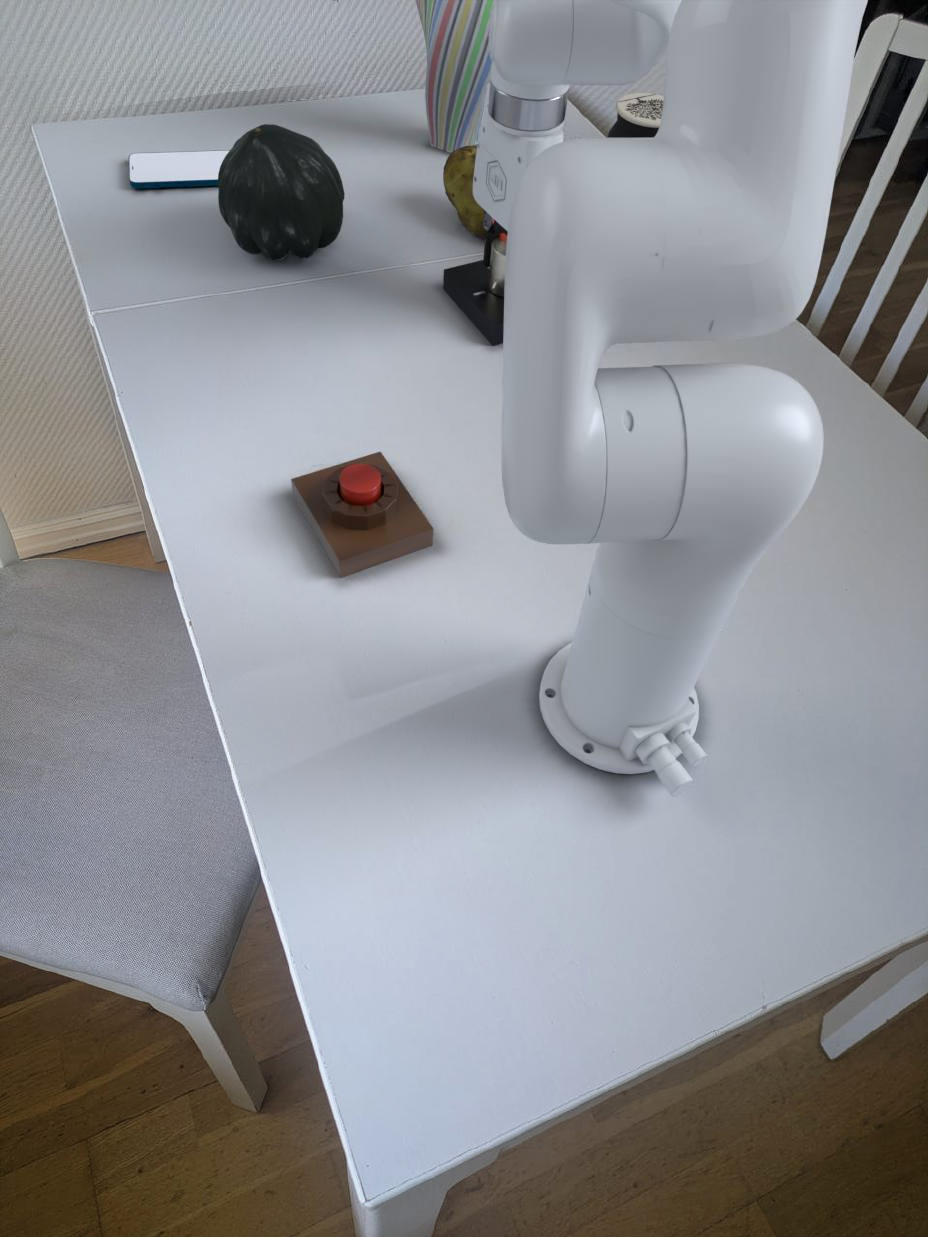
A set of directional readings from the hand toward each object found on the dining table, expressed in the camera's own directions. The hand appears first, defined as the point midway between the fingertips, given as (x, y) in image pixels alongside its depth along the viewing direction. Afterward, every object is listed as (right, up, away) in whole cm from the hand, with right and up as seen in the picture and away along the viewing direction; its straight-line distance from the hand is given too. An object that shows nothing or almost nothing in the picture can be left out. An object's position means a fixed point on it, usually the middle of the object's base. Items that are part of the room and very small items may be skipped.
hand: (508, 273), depth 101 cm
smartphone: (-40, +20, +17) cm, 48 cm away
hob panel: (0, -2, +3) cm, 4 cm away
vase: (-6, +28, +27) cm, 39 cm away
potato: (-3, +12, +14) cm, 19 cm away
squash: (-27, +7, +9) cm, 29 cm away
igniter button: (-14, -27, -21) cm, 38 cm away
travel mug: (+14, +6, +11) cm, 19 cm away
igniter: (-14, -30, -19) cm, 38 cm away
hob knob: (0, -1, +1) cm, 2 cm away
